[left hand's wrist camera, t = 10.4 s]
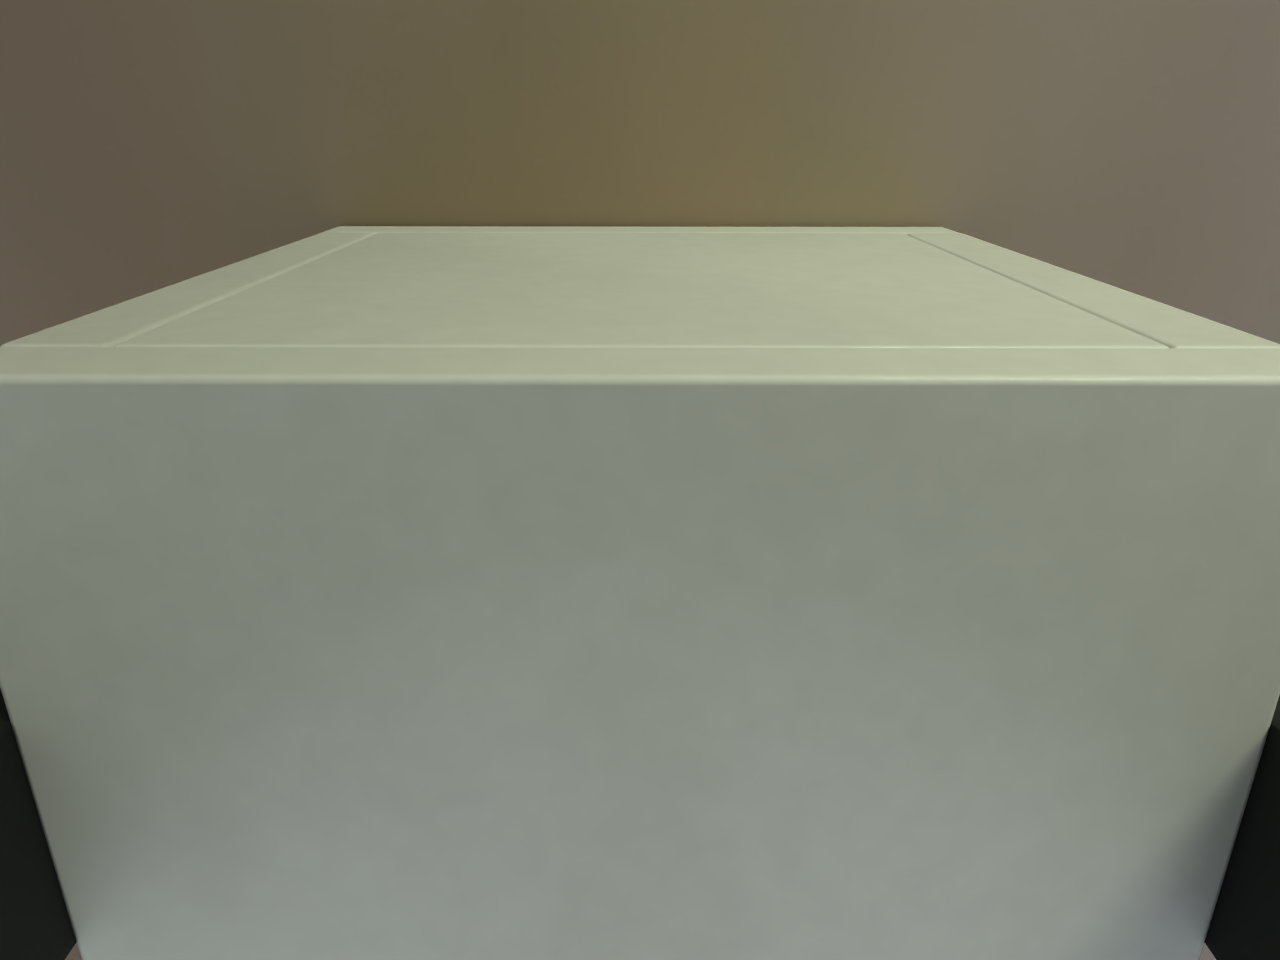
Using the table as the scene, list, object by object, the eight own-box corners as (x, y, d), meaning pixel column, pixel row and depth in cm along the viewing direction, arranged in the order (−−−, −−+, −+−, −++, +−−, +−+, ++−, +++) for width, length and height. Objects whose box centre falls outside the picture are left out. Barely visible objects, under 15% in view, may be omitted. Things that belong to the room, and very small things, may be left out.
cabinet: (859, 948, 24) (1020, 1557, 14) (420, 948, 24) (258, 1556, 14) (945, 226, 17) (1380, 376, 7) (335, 225, 17) (-99, 375, 7)
